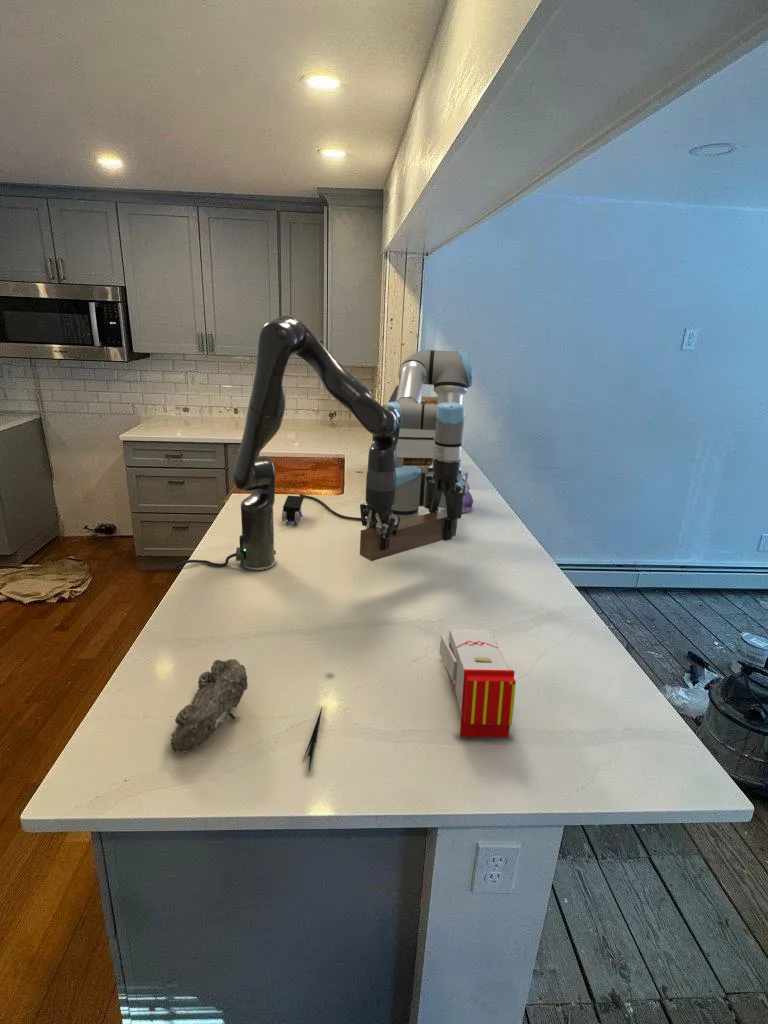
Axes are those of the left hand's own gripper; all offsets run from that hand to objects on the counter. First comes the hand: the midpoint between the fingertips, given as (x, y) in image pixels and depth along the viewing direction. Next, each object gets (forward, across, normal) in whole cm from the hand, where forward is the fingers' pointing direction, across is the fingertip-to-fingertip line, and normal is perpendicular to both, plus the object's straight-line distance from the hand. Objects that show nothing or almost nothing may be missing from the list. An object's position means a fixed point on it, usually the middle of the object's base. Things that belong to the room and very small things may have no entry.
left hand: (377, 546), depth 150 cm
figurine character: (+16, -63, +12) cm, 66 cm away
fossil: (+15, +19, -55) cm, 60 cm away
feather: (+15, +31, -40) cm, 53 cm away
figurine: (+15, -36, +75) cm, 84 cm away
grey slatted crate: (+16, -84, +96) cm, 129 cm away
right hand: (+3, 0, +24) cm, 24 cm away
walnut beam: (+3, 0, +12) cm, 12 cm away
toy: (+15, +44, -10) cm, 47 cm away
